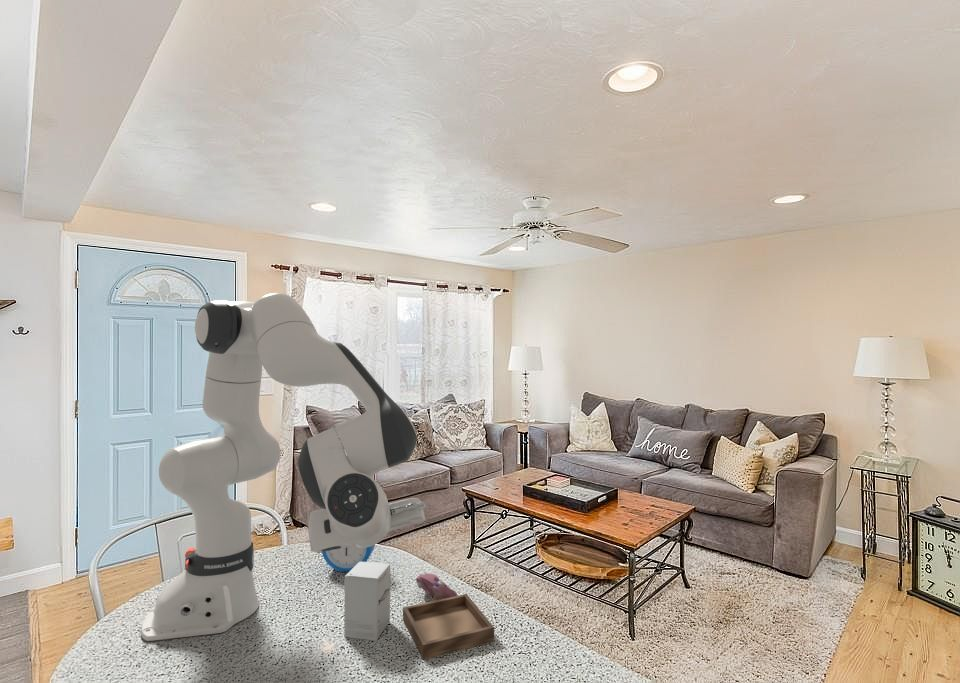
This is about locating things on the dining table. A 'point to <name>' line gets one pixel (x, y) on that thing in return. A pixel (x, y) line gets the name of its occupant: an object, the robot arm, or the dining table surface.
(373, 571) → the supplement box
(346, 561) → the alarm clock
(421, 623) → the tray
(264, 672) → the dining table surface
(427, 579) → the video game controller
